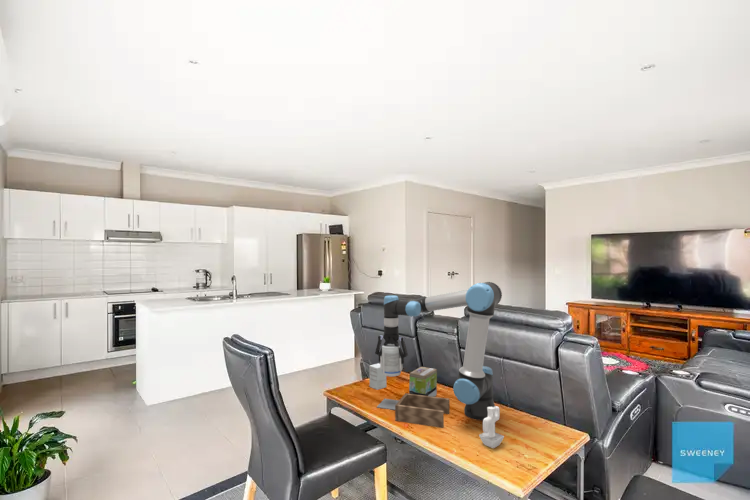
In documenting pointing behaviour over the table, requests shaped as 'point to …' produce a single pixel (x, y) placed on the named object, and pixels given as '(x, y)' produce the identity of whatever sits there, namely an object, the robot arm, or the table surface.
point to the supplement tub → (390, 360)
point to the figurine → (491, 428)
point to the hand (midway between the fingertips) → (391, 369)
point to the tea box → (423, 382)
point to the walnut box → (422, 410)
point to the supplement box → (377, 377)
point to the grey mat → (388, 404)
